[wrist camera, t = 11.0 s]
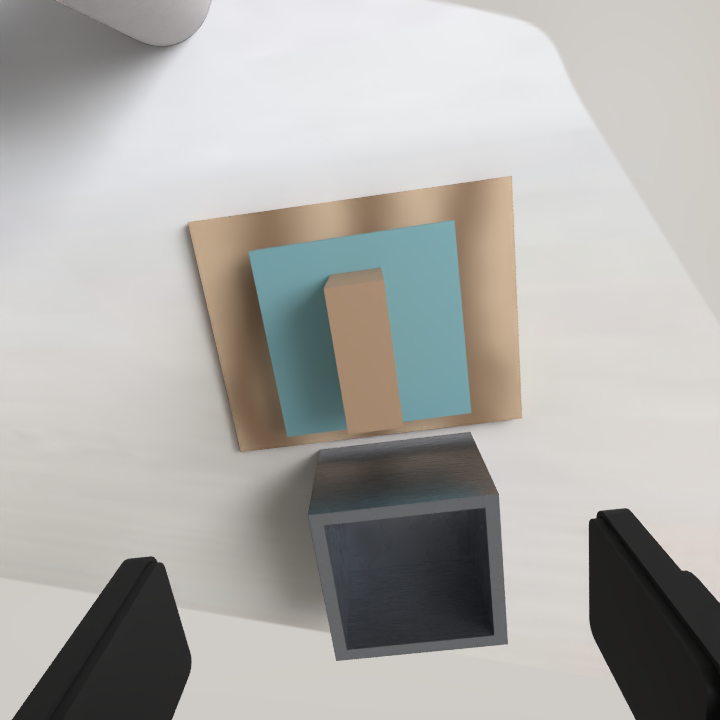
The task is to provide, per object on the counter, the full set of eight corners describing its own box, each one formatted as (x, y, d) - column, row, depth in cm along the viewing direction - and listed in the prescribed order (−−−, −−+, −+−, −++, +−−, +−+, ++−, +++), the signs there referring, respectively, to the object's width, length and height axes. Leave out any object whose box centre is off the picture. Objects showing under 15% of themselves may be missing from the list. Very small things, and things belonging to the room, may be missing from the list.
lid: (447, 219, 31) (472, 224, 24) (463, 398, 34) (490, 449, 27) (257, 248, 31) (225, 261, 24) (292, 421, 35) (274, 477, 28)
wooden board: (508, 176, 31) (511, 176, 30) (518, 413, 36) (522, 418, 35) (192, 221, 32) (187, 222, 31) (243, 446, 37) (240, 451, 36)
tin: (470, 432, 36) (498, 493, 28) (480, 558, 39) (507, 644, 32) (319, 450, 37) (308, 515, 29) (341, 573, 40) (336, 660, 32)
